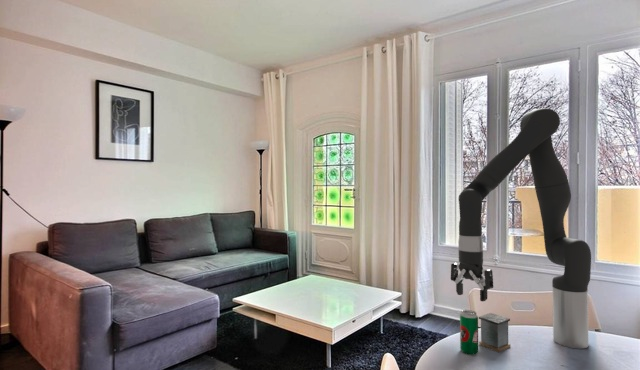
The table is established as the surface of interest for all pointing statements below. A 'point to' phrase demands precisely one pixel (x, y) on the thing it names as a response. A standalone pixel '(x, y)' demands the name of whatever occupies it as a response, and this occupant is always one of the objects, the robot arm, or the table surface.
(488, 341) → the service unit
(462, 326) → the soda can
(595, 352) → the table surface
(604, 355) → the table surface
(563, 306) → the robot arm
